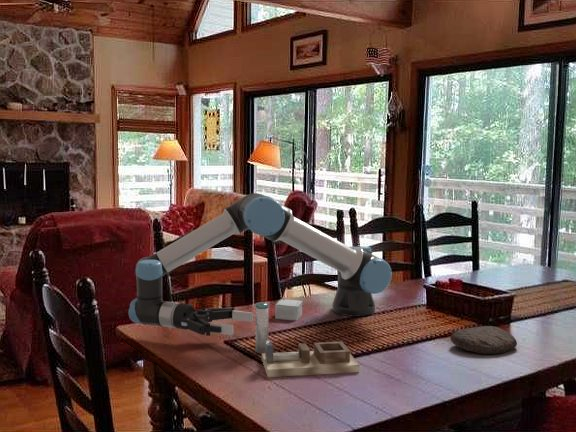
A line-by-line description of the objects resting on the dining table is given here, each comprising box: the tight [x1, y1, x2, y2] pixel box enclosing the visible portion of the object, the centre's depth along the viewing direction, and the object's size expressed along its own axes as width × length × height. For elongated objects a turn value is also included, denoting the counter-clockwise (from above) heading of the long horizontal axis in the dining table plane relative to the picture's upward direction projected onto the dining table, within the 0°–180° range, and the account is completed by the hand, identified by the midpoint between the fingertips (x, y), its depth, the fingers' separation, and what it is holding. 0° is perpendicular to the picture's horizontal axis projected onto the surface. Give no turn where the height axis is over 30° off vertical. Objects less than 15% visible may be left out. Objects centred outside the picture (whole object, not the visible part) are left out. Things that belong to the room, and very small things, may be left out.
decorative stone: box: [450, 325, 518, 355], centre depth 178 cm, size 20×14×5 cm
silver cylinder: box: [255, 301, 270, 354], centre depth 172 cm, size 4×4×14 cm
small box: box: [274, 298, 303, 321], centre depth 208 cm, size 8×8×5 cm
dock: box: [261, 341, 360, 378], centre depth 161 cm, size 24×12×5 cm, turn 100°
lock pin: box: [265, 340, 299, 363], centre depth 160 cm, size 9×4×5 cm, turn 100°
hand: (243, 323), depth 173 cm, fingers open, 13 cm apart
